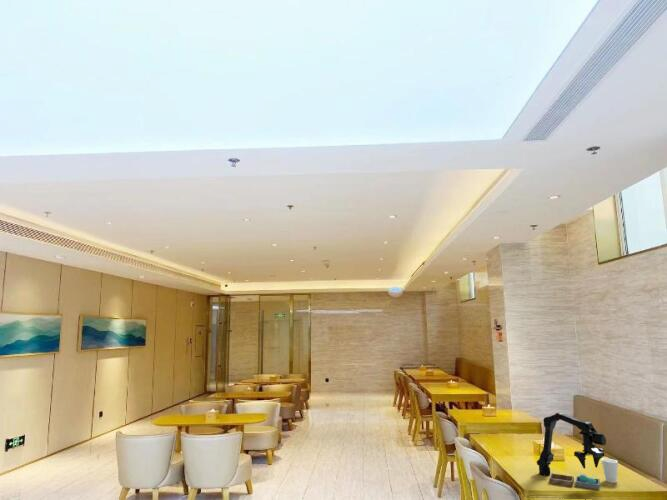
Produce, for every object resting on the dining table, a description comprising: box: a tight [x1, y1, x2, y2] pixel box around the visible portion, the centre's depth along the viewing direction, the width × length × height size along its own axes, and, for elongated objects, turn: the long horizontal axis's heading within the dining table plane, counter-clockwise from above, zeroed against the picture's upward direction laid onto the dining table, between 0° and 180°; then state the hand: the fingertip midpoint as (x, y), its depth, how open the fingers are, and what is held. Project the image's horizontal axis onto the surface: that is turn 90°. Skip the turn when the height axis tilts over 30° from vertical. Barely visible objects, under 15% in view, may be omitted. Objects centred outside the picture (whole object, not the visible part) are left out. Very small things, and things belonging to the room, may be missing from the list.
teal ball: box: [587, 477, 596, 484], centre depth 296 cm, size 5×5×5 cm
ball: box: [578, 473, 589, 483], centre depth 303 cm, size 5×5×5 cm
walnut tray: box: [549, 473, 575, 488], centre depth 305 cm, size 13×13×3 cm
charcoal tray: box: [574, 475, 601, 491], centre depth 299 cm, size 13×13×3 cm
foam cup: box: [600, 458, 619, 484], centre depth 308 cm, size 10×9×13 cm
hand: (590, 468), depth 297 cm, fingers open, 9 cm apart
